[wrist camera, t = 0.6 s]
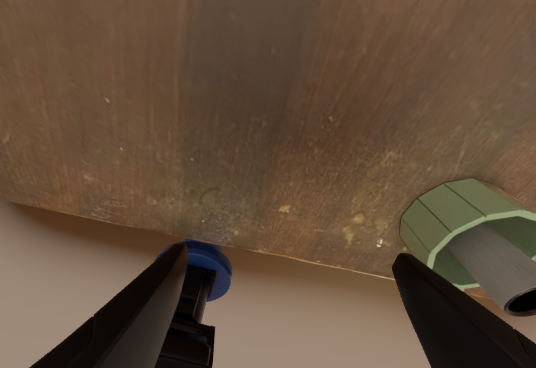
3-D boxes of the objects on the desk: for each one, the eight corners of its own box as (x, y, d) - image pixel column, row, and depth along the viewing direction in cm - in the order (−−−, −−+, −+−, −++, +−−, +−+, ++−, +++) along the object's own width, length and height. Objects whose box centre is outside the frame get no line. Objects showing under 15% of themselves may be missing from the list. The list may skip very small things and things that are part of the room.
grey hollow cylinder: (476, 206, 25) (586, 288, 17) (453, 234, 28) (539, 319, 19) (440, 201, 25) (532, 282, 16) (420, 230, 27) (491, 315, 19)
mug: (404, 189, 24) (436, 222, 20) (513, 170, 23) (576, 201, 18) (394, 268, 31) (417, 306, 27) (478, 256, 30) (517, 295, 25)
